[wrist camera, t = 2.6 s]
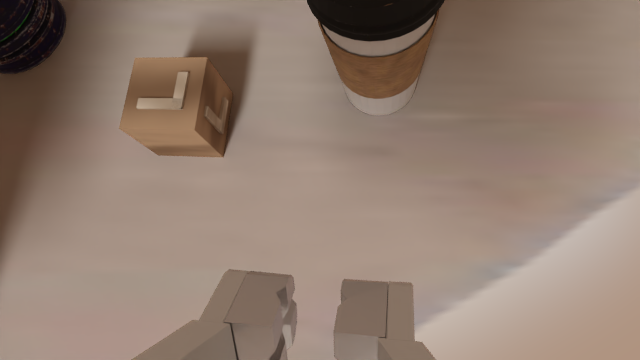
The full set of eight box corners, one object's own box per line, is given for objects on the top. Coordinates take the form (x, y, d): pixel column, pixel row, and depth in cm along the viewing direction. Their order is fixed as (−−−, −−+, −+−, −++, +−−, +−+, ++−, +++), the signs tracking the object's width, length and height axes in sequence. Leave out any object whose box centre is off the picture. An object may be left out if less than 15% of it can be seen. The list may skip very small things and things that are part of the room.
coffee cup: (446, 111, 36) (484, -23, 22) (346, 143, 36) (319, 32, 22) (411, 28, 38) (424, -140, 24) (319, 59, 39) (279, -88, 25)
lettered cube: (226, 157, 38) (196, 128, 32) (158, 155, 39) (117, 127, 33) (236, 94, 39) (209, 55, 33) (170, 93, 40) (133, 56, 34)
